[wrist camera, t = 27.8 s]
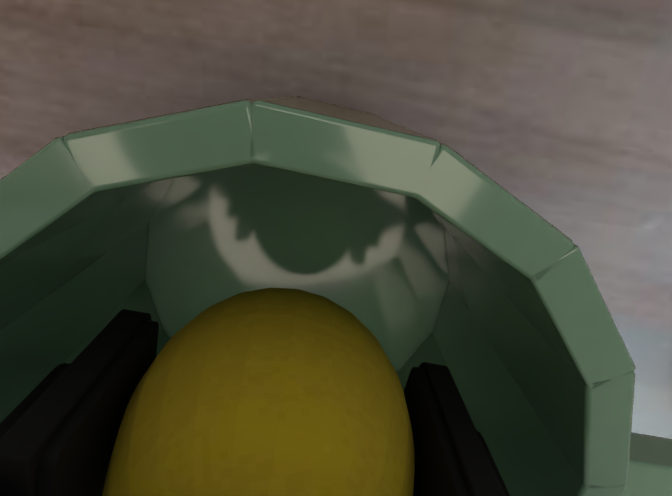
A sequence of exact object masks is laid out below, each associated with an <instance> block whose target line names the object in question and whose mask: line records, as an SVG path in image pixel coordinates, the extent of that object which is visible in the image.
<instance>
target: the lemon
mask: <svg viewBox="0 0 672 496" xmlns="http://www.w3.org/2000/svg"><path fill="white" fill-rule="evenodd" d="M414 473H415V451H414V440H413V433H412V427H411V422H410V417H409V413H408V409H407V405H406V400H405V396H404V392H403V389H402V385H401V382H400V380H399V377H398V375H397V373H396V371H395V369H394V367H393V365H392V364H391V362H390V360H389V359H388V357H387V355H386V353H385V352H384V350H383V348H382V347H381V345H380V343H379V342H378V340H377V338H376V337H375V336H374V335H373V333H372V332H371V331H370V330H369V329H368V328H367V327H366V326H365V325H364V324H363V323H362V322H361V321H360V320H358V319H357V318H356V317H355V316H354V315H353V314H352V313H351V312H350V311H348V310H347V309H345V308H343V307H341V306H340V305H338V304H336V303H334V302H333V301H331V300H329V299H327V298H326V297H324V296H320V295H317V294H313V293H310V292H306V291H303V290H300V289H288V288H271V287H270V288H265V289H259V290H253V291H247V292H242V293H239V294H237V295H234V296H232V297H230V298H227V299H225V300H223V301H221V302H218V303H216V304H214V305H212V306H210V307H209V308H207V309H205V310H204V311H203V312H201V313H200V314H199V315H198V316H196V317H195V318H194V319H193V320H191V321H190V322H189V323H188V324H186V325H185V326H184V327H182V328H181V329H180V330H179V331H178V332H177V333H176V334H174V335H173V336H172V338H171V339H170V340H169V341H168V342H167V343H166V344H165V346H164V347H163V349H162V350H161V351H160V353H159V354H158V356H157V357H156V358H155V360H154V361H153V363H152V364H151V365H150V367H149V368H148V370H147V371H146V373H145V374H144V375H143V377H142V378H141V380H140V381H139V383H138V385H137V387H136V388H135V390H134V392H133V394H132V396H131V398H130V401H129V403H128V405H127V408H126V410H125V413H124V416H123V419H122V422H121V425H120V428H119V431H118V434H117V438H116V441H115V444H114V448H113V451H112V455H111V458H110V462H109V466H108V470H107V473H106V478H105V483H104V489H103V494H102V496H413V489H414Z"/></svg>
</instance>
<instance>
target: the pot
mask: <svg viewBox="0 0 672 496" xmlns="http://www.w3.org/2000/svg"><path fill="white" fill-rule="evenodd" d="M270 287H271V288H288V289H300V290H303V291H306V292H310V293H313V294H317V295H320V296H324V297H326V298H327V299H329V300H331V301H333V302H334V303H336V304H338V305H340V306H341V307H343V308H345V309H347V310H348V311H350V312H351V313H352V314H353V315H354V316H355V317H356V318H357V319H358V320H360V321H361V322H362V323H363V324H364V325H365V326H366V327H367V328H368V329H369V330H370V331H371V332H372V333H373V335H374V336H375V337H376V338H377V340H378V342H379V343H380V345H381V347H382V348H383V350H384V352H385V353H386V355H387V357H388V359H389V360H390V362H391V364H392V365H393V367H394V369H395V371H396V373H397V375H398V377H399V380H400V382H401V385H402V389H403V392H404V389H405V386H406V383H407V380H408V377H409V374H410V371H411V369H412V367H419V365H420V364H421V363H422V362H427V363H433V364H438V365H444V366H447V367H448V369H449V370H450V373H451V375H452V377H453V379H454V382H455V384H456V386H457V388H458V391H459V393H460V395H461V397H462V399H463V402H464V404H465V406H466V408H467V411H468V413H469V415H470V417H471V420H472V422H473V424H474V426H475V429H476V430H477V431H478V432H480V433H481V435H482V436H483V438H484V440H485V442H486V444H487V446H488V449H489V451H490V453H491V455H492V457H493V460H494V462H495V464H496V466H497V468H498V470H499V473H500V475H501V477H502V479H503V481H504V484H505V486H506V488H507V490H508V492H509V494H510V496H672V439H668V438H662V437H656V436H650V435H644V434H638V433H632V432H631V427H632V413H633V398H634V383H635V373H634V370H635V365H634V363H633V361H632V359H631V357H630V355H629V353H628V350H627V348H626V346H625V344H624V342H623V340H622V338H621V336H620V334H619V331H618V329H617V327H616V325H615V323H614V321H613V319H612V317H611V314H610V312H609V310H608V308H607V306H606V304H605V302H604V300H603V298H602V295H601V293H600V291H599V289H598V287H597V285H596V283H595V281H594V279H593V276H592V274H591V272H590V270H589V268H588V266H587V264H586V262H585V260H584V257H583V255H582V253H581V251H580V249H579V247H578V246H576V245H575V244H574V243H573V241H572V240H571V239H570V238H568V237H567V236H566V235H564V234H563V233H562V232H560V231H559V230H558V229H557V228H555V227H554V226H553V225H551V224H550V223H549V222H547V221H546V220H545V219H543V218H542V217H541V216H539V215H538V214H537V213H535V212H534V211H533V210H532V209H530V208H529V207H528V206H526V205H525V204H524V203H522V202H521V201H520V200H518V199H517V198H516V197H514V196H513V195H512V194H510V193H509V192H508V191H507V190H505V189H504V188H503V187H501V186H500V185H499V184H497V183H496V182H495V181H493V180H492V179H491V178H489V177H488V176H487V175H485V174H484V173H483V172H482V171H480V170H479V169H478V168H476V167H475V166H474V165H472V164H471V163H470V162H468V161H467V160H466V159H464V158H463V157H462V156H460V155H459V154H458V153H457V152H455V151H454V150H453V149H451V148H450V147H449V146H447V145H445V144H443V143H440V142H438V141H437V140H435V139H432V138H430V137H427V136H425V135H423V134H420V133H418V132H415V131H413V130H411V129H408V128H406V127H403V126H401V125H399V124H396V123H394V122H391V121H389V120H387V119H384V118H382V117H379V116H377V115H375V114H372V113H369V112H365V111H361V110H356V109H352V108H348V107H343V106H339V105H336V104H330V103H326V102H322V101H317V100H313V99H309V98H304V97H300V96H297V97H294V96H291V97H276V98H261V99H246V100H240V101H235V102H229V103H224V104H219V105H214V106H208V107H203V108H198V109H193V110H187V111H182V112H177V113H172V114H166V115H161V116H156V117H151V118H145V119H140V120H135V121H130V122H125V123H119V124H114V125H109V126H104V127H98V128H93V129H88V130H83V131H77V132H72V133H68V134H67V135H66V136H63V137H57V138H55V139H54V140H53V141H51V142H50V143H49V144H47V145H46V146H45V147H43V148H42V149H41V150H39V151H38V152H37V153H35V154H34V155H33V156H31V157H30V158H29V159H27V160H26V161H25V162H24V163H22V164H21V165H20V166H18V167H17V168H16V169H14V170H13V171H12V172H10V173H9V174H8V175H6V176H5V177H4V178H2V179H1V180H0V423H1V422H2V421H3V420H4V419H5V418H6V417H7V416H8V415H9V414H10V413H11V412H12V411H13V410H14V409H15V408H16V407H17V406H18V405H19V404H20V403H21V402H22V401H23V400H24V399H25V398H26V397H27V396H28V394H29V393H30V392H31V391H32V390H33V389H34V388H35V387H36V386H37V385H38V384H39V383H40V382H41V381H42V380H43V379H44V378H45V377H46V376H47V375H48V374H49V373H50V372H51V371H52V370H53V369H54V368H55V367H57V366H58V365H59V364H62V363H68V364H71V363H72V362H73V361H74V360H75V358H76V357H77V356H78V355H79V354H80V353H81V352H82V351H83V350H84V349H85V348H86V347H87V346H88V345H89V344H90V343H91V341H92V340H93V339H94V338H95V337H96V336H97V335H98V334H99V333H100V332H101V331H102V330H103V329H104V328H105V327H106V326H107V324H108V323H109V322H110V321H111V320H112V319H113V318H114V317H115V316H116V315H117V314H118V313H119V312H120V311H121V310H122V309H127V310H132V311H138V312H144V313H149V314H150V315H151V321H156V322H158V323H159V331H158V342H157V353H156V357H157V356H158V354H159V353H160V351H161V350H162V349H163V347H164V346H165V344H166V343H167V342H168V341H169V340H170V339H171V338H172V336H173V335H174V334H176V333H177V332H178V331H179V330H180V329H181V328H182V327H184V326H185V325H186V324H188V323H189V322H190V321H191V320H193V319H194V318H195V317H196V316H198V315H199V314H200V313H201V312H203V311H204V310H205V309H207V308H209V307H210V306H212V305H214V304H216V303H218V302H221V301H223V300H225V299H227V298H230V297H232V296H234V295H237V294H239V293H242V292H247V291H253V290H259V289H265V288H270Z"/></svg>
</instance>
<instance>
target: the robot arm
mask: <svg viewBox="0 0 672 496" xmlns="http://www.w3.org/2000/svg"><path fill="white" fill-rule="evenodd" d="M158 331H159V323H158V322H156V321H151V315H150V314H149V313H144V312H138V311H132V310H127V309H122V310H121V311H120V312H119V313H118V314H117V315H116V316H115V317H114V318H113V319H112V320H111V321H110V322H109V323H108V324H107V326H106V327H105V328H104V329H103V330H102V331H101V332H100V333H99V334H98V335H97V336H96V337H95V338H94V339H93V340H92V341H91V343H90V344H89V345H88V346H87V347H86V348H85V349H84V350H83V351H82V352H81V353H80V354H79V355H78V356H77V357H76V358H75V360H74V361H73V362H72V363H71V364H68V363H62V364H59V365H58V366H57V367H55V368H54V369H53V370H52V371H51V372H50V373H49V374H48V375H47V376H46V377H45V378H44V379H43V380H42V381H41V382H40V383H39V384H38V385H37V386H36V387H35V388H34V389H33V390H32V391H31V392H30V393H29V394H28V396H27V397H26V398H25V399H24V400H23V401H22V402H21V403H20V404H19V405H18V406H17V407H16V408H15V409H14V410H13V411H12V412H11V413H10V414H9V415H8V416H7V417H6V418H5V419H4V420H3V421H2V422H1V423H0V496H102V494H103V489H104V483H105V478H106V473H107V470H108V466H109V462H110V458H111V455H112V451H113V448H114V444H115V441H116V438H117V434H118V431H119V428H120V425H121V422H122V419H123V416H124V413H125V410H126V408H127V405H128V403H129V401H130V398H131V396H132V394H133V392H134V390H135V388H136V387H137V385H138V383H139V381H140V380H141V378H142V377H143V375H144V374H145V373H146V371H147V370H148V368H149V367H150V365H151V364H152V363H153V361H154V360H155V358H156V353H157V342H158ZM404 396H405V400H406V405H407V409H408V413H409V417H410V422H411V427H412V433H413V440H414V451H415V473H414V489H413V496H510V494H509V492H508V490H507V488H506V486H505V484H504V481H503V479H502V477H501V475H500V473H499V470H498V468H497V466H496V464H495V462H494V460H493V457H492V455H491V453H490V451H489V449H488V446H487V444H486V442H485V440H484V438H483V436H482V435H481V433H480V432H478V431H477V430H476V429H475V426H474V424H473V422H472V420H471V417H470V415H469V413H468V411H467V408H466V406H465V404H464V402H463V399H462V397H461V395H460V393H459V391H458V388H457V386H456V384H455V382H454V379H453V377H452V375H451V373H450V370H449V369H448V367H447V366H444V365H438V364H433V363H427V362H422V363H421V364H420V365H419V367H412V369H411V371H410V374H409V377H408V380H407V383H406V386H405V389H404Z"/></svg>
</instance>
